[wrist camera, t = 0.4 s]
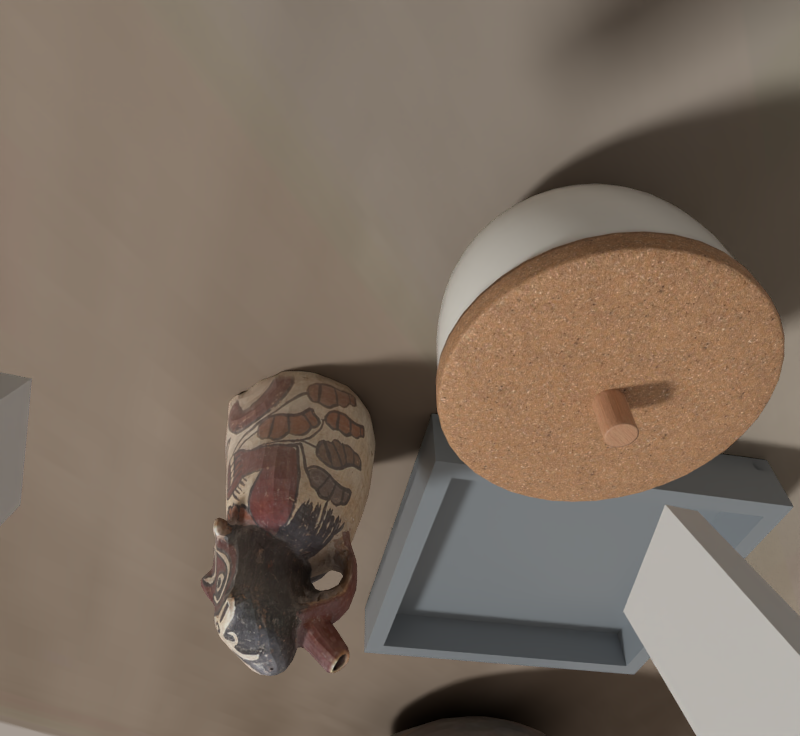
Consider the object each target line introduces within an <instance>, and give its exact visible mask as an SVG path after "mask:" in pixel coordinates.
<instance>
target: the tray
mask: <svg viewBox="0 0 800 736" xmlns="http://www.w3.org/2000/svg"><path fill="white" fill-rule="evenodd" d="M665 505H670V506H675V507H680V508H685V509H690V510H695V511H698V512H699V513H700V514H701V515H702V516H703V517H704V518H705V519H706V520H707V521H708V522H709V523H710V524H711V525H712V526H713V527H714V528H715V529H716V531H717V532H718V533H719V534H720V535H721V536H722V537H723V538H724V539H725V540H726V541H727V542H728V543H729V544H730V545H731V546H732V547H733V548H734V549H735V550H736V551H737V552H738V553H739V554H740V555H741V556H742V557H743V558H745V557H746V556H747V555H748V554H749V553H750V552H751V551H752V550H753V549H754V548H755V547H756V546H757V545H758V544H759V543H760V542H761V541H762V539H763V538H764V537H765V536H766V535H767V534H768V533H769V532H770V531H771V530H772V529H773V528H774V527H775V526H776V525H777V524H778V523H779V522H780V521H781V520H782V518H783V517H784V516H785V515H786V514H787V513H788V512H789V511H790V510H791V509H792V508H793V505H792V503H791V501H790V500H789V498H788V496H787V494H786V493H785V491H784V489H783V488H782V486H781V484H780V482H779V481H778V479H777V477H776V475H775V474H774V472H773V470H772V469H771V467H770V465H769V463H768V462H767V460H761V459H754V458H747V457H740V456H733V455H725V454H719V455H718V456H716V457H715V458H713V459H712V460H710V461H709V462H707V463H706V464H704V465H702V466H701V467H699V468H697V469H696V470H694V471H692V472H690V473H689V474H687V475H685V476H682V477H680V478H678V479H676V480H673V481H671V482H669V483H666V484H664V485H661V486H658V487H655V488H652V489H649V490H647V491H644V492H640V493H636V494H632V495H627V496H623V497H618V498H611V499H605V500H598V501H578V502H569V501H550V500H544V499H539V498H533V497H528V496H525V495H521V494H518V493H514V492H510V491H508V490H506V489H504V488H502V487H499V486H497V485H495V484H493V483H491V482H489V481H488V480H486V479H485V478H483V477H481V476H480V475H478V474H476V473H475V472H474V471H473V470H472V469H471V468H469V467H468V466H467V465H466V464H465V463H464V462H463V461H462V460H460V458H459V457H458V456H457V454H456V453H455V452H454V450H453V449H452V448H451V447H450V445H449V443H448V441H447V439H446V437H445V435H444V433H443V431H442V428H441V424H440V420H439V415H438V414H432V415H431V417H430V420H429V423H428V426H427V429H426V432H425V435H424V438H423V441H422V444H421V447H420V450H419V452H418V455H417V458H416V461H415V464H414V467H413V470H412V473H411V476H410V479H409V482H408V484H407V487H406V490H405V493H404V496H403V499H402V502H401V505H400V508H399V511H398V514H397V517H396V519H395V522H394V525H393V528H392V531H391V534H390V537H389V540H388V543H387V546H386V549H385V551H384V554H383V557H382V560H381V563H380V566H379V569H378V572H377V575H376V578H375V581H374V584H373V586H372V589H371V592H370V595H369V598H368V601H367V604H366V607H365V649H364V652H367V653H379V654H391V655H403V656H416V657H428V658H440V659H452V660H464V661H476V662H489V663H501V664H513V665H525V666H537V667H550V668H562V669H574V670H586V671H598V672H611V673H623V674H635V673H636V672H637V671H638V670H639V669H640V668H641V667H642V666H643V664H644V663H645V662H646V661H647V660H648V659H649V658H650V656H649V654H648V653H647V651H646V649H645V647H644V646H643V644H642V642H641V641H640V639H639V637H638V636H637V634H636V632H635V630H634V629H633V627H632V625H631V624H630V622H629V620H628V618H627V617H626V615H625V613H624V612H623V611H624V608H625V605H626V603H627V600H628V598H629V595H630V593H631V590H632V588H633V585H634V583H635V580H636V577H637V575H638V572H639V570H640V567H641V565H642V562H643V560H644V557H645V555H646V552H647V550H648V547H649V544H650V542H651V539H652V537H653V534H654V532H655V529H656V527H657V524H658V522H659V519H660V516H661V514H662V511H663V509H664V506H665Z"/></svg>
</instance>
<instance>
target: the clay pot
mask: <svg viewBox="0 0 800 736" xmlns="http://www.w3.org/2000/svg"><path fill="white" fill-rule="evenodd" d="M392 736H546V735H545V734H543V732H541V731H539V730H536V729H534V728H531V727H528V726H525V725H523V724H520V723H517V722H513V721H509V720H504V719H498V718H493V717H480V716H466V717H455V718H444V719H439V720H436V721H433V722H429V723H426V724H423V725H420V726H417V727H414V728H411V729H407V730H404V731H401V732H398V733H396V734H394V735H392Z"/></svg>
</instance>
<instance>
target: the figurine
mask: <svg viewBox="0 0 800 736" xmlns="http://www.w3.org/2000/svg"><path fill="white" fill-rule="evenodd" d="M374 454H375V436H374V431H373V426H372V421H371V417H370V414H369V412H368V410H367V409H366V407H365V406H364V404H363V403H362V402H361V400H360V399H359V397H358V396H357V395H356V394H355V393H354V392H353V391H352V390H351V389H350V388H349V387H348V386H346V385H343V384H341V383H339V382H337V381H334V380H332V379H329V378H327V377H324V376H321V375H319V374H316V373H311V372H303V371H285V372H281V373H279V374H278V375H275V376H272V377H269V378H266V379H263V380H261V381H260V382H258V383H257V384H255V385H254V386H252V387H251V388H250V389H249V390H248V391H246V392H244V393H242V394H241V395H237V396H235V397H234V398H233V399H232V400H231V401H230V402H229V412H228V423H227V433H226V444H225V457H226V516H227V521H226V520H224V519H221V518H217V519H216V520H215V522H214V529H213V531H214V535H215V538H216V544H215V547H214V561H213V567H212V569H211V570H210V571H209V572H208V573H207V574H206V575H205V576H204V577H203V578H202V579H201V586H202V588H203V590H204V592H205V593H206V595H207V596H208V598H209V599H210V600H211V601H212V602H213V604H214V606H215V613H214V623H215V626H216V629H217V632H218V634H219V636H220V638H221V639H222V640H223V641H224V642H225V643H226V644H227V646H228V647H229V648H230V649H231V650H232V651H233V652H234V653H235V654H236V655H237V656H238V657H239V658H240V659H241V660H242V661H243V662H244V663H245V664H246V665H247V666H248V667H249V668H250V669H251V670H253V671H255V672H256V673H258V674H260V675H269V676H271V675H277V674H279V673H281V672H283V671H285V670H286V669H287V667H288V666H289V664H290V663H291V662H292V660H293V658H294V655H295V653H296V650H297V648H298V647H302V648H305V649H306V650H307V651H308V652H309V653H310V654H311V655H312V656H313V657H314V658H315V659H316V660H317V662H318V663H319V664H320V665H321V666H322V667H323V668H324V669H325V670H326V671H327V672H329V673H336V672H337V671H339V670H341V669H342V668H343V667H344V666H345V665H346V664H347V662H348V660H349V650H348V647H347V646H346V644H345V642H344V641H343V639H342V638H341V636H340V635H339V633H338V632H337V630H336V629H335V627H334V626H333V625H332V624H333V623H334V622H336V621H337V620H339V619H340V618H341V617H342V616H343V614H344V613H345V612H346V611H347V610H348V609H349V607H350V604H351V602H352V599H353V597H354V594H355V591H356V585H357V563H356V558H355V555H354V552H353V549H352V546H351V542H352V540H353V538H354V535H355V532H356V530H357V527H358V525H359V522H360V520H361V517H362V514H363V511H364V508H365V505H366V501H367V498H368V494H369V489H370V484H371V477H372V469H373V462H374ZM331 570H334V571H337V572H341V574H342V575H343V578H342V579H341V581H340V583H339V584H338V585H337V586H335V587H333V588H331V589H329V590H324V591H319V590H317V589H315V588H314V586H313V584H312V583H314V582H315V581H317V580H319V579H321V578H322V577H323V576H324V575H325V574H326V573H327V572H329V571H331Z"/></svg>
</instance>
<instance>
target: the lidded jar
mask: <svg viewBox="0 0 800 736" xmlns="http://www.w3.org/2000/svg"><path fill="white" fill-rule="evenodd" d="M783 359H784V332H783V328H782V324H781V319H780V315H779V314H778V312H777V310H776V308H775V306H774V304H773V302H772V300H771V298H770V296H769V295H768V294H767V292H766V291H765V290H764V289H763V287H762V286H761V285H760V284H759V283H758V281H757V280H756V279H755V278H754V277H753V276H752V275H751V274H750V272H749V271H748V270H747V269H746V268H745V267H744V266H743V265H741V264H740V263H739V262H737V261H736V260H735V259H734V258H733V257H732V255H731V254H730V253H729V252H728V251H727V250H726V249H725V247H724V246H723V245H722V244H721V243H720V242H719V241H718V240H717V238H716V237H715V236H714V235H713V234H712V233H711V232H709V231H708V230H707V229H706V228H705V227H703V226H702V225H701V224H700V223H699V222H697V221H696V220H695V219H693V218H692V217H691V216H689V215H688V214H687V213H685V212H684V211H682V210H681V209H679V208H677V207H676V206H674V205H672V204H670V203H669V202H667V201H664V200H662V199H660V198H658V197H656V196H654V195H652V194H650V193H646V192H642V191H639V190H635V189H631V188H627V187H622V186H616V185H606V184H579V185H572V186H566V187H561V188H556V189H552V190H549V191H546V192H543V193H540V194H538V195H535V196H532V197H530V198H528V199H526V200H524V201H522V202H520V203H518V204H516V205H514V206H512V207H511V208H509V209H508V210H506V211H505V212H504V213H502V214H501V215H499V216H498V217H496V218H495V219H494V220H493V221H492V222H490V223H489V224H488V225H487V226H486V227H485V228H484V229H483V230H482V231H481V232H480V233H479V234H478V235H477V236H476V238H475V239H474V240H473V241H472V242H471V244H470V245H469V246H468V247H467V249H466V250H465V252H464V253H463V255H462V257H461V258H460V260H459V262H458V263H457V265H456V267H455V268H454V270H453V272H452V275H451V277H450V280H449V282H448V285H447V287H446V290H445V294H444V297H443V301H442V305H441V310H440V316H439V321H438V330H437V375H436V401H437V411H438V415H439V420H440V424H441V428H442V431H443V433H444V435H445V437H446V439H447V441H448V443H449V445H450V447H451V448H452V449H453V450H454V452H455V453H456V454H457V456H458V457H459V458H460V460H462V461H463V462H464V463H465V464H466V465H467V466H468V467H469V468H471V469H472V470H473V471H474V472H475V473H476V474H478V475H480V476H481V477H483V478H485V479H486V480H488V481H489V482H491V483H493V484H495V485H497V486H499V487H502V488H504V489H506V490H508V491H510V492H514V493H518V494H521V495H525V496H528V497H533V498H539V499H544V500H550V501H569V502H578V501H598V500H605V499H611V498H618V497H623V496H627V495H632V494H636V493H640V492H644V491H647V490H649V489H652V488H655V487H658V486H661V485H664V484H666V483H669V482H671V481H673V480H676V479H678V478H680V477H682V476H685V475H687V474H689V473H690V472H692V471H694V470H696V469H697V468H699V467H701V466H702V465H704V464H706V463H707V462H709V461H710V460H712V459H713V458H715V457H716V456H718V455H719V454H721V453H722V452H723V451H725V450H726V449H727V448H728V447H730V446H731V445H732V444H733V443H734V442H735V441H736V440H737V439H738V438H739V437H740V436H742V435H743V434H744V433H745V431H746V430H747V429H748V428H749V427H750V426H751V425H752V424H753V423H754V421H755V420H756V419H757V418H758V417H759V415H760V414H761V412H762V411H763V409H764V407H765V406H766V404H767V403H768V401H769V399H770V397H771V395H772V393H773V391H774V389H775V386H776V384H777V382H778V380H779V377H780V372H781V368H782V363H783Z"/></svg>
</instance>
